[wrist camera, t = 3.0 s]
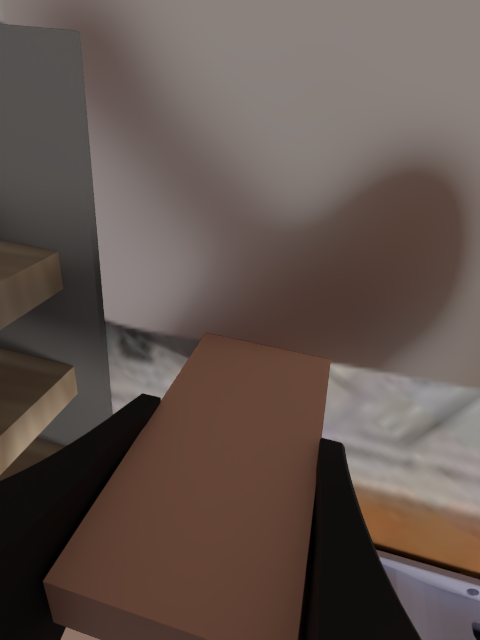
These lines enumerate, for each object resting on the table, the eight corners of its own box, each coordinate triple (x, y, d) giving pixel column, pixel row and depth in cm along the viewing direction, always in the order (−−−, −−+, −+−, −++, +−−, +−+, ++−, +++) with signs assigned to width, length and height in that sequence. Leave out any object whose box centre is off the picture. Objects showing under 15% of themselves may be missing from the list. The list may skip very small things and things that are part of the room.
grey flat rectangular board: (79, 31, 13) (71, 30, 12) (123, 543, 26) (120, 548, 25) (-133, 13, 14) (-146, 11, 14) (10, 506, 27) (6, 512, 27)
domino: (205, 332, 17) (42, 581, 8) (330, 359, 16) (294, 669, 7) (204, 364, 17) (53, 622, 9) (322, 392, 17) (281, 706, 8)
